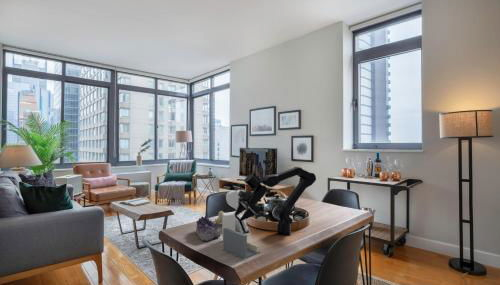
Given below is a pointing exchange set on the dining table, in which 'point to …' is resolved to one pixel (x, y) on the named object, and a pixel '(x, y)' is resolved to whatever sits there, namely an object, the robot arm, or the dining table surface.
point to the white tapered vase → (228, 221)
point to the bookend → (238, 244)
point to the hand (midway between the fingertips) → (237, 217)
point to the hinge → (240, 225)
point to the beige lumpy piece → (219, 218)
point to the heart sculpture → (233, 198)
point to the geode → (207, 229)
